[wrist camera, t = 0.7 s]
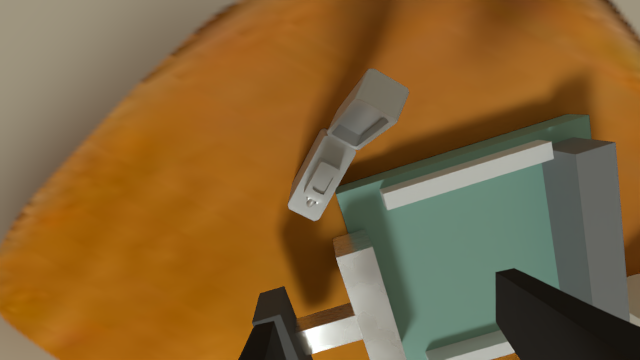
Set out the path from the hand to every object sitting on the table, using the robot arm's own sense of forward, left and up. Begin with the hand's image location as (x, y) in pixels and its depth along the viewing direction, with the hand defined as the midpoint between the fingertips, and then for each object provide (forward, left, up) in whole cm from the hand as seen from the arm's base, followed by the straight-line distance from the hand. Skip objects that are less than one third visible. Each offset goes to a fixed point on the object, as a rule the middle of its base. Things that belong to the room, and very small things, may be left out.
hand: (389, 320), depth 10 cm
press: (-5, -7, -10) cm, 14 cm away
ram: (-5, +3, -9) cm, 11 cm away
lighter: (+5, 0, -11) cm, 12 cm away
